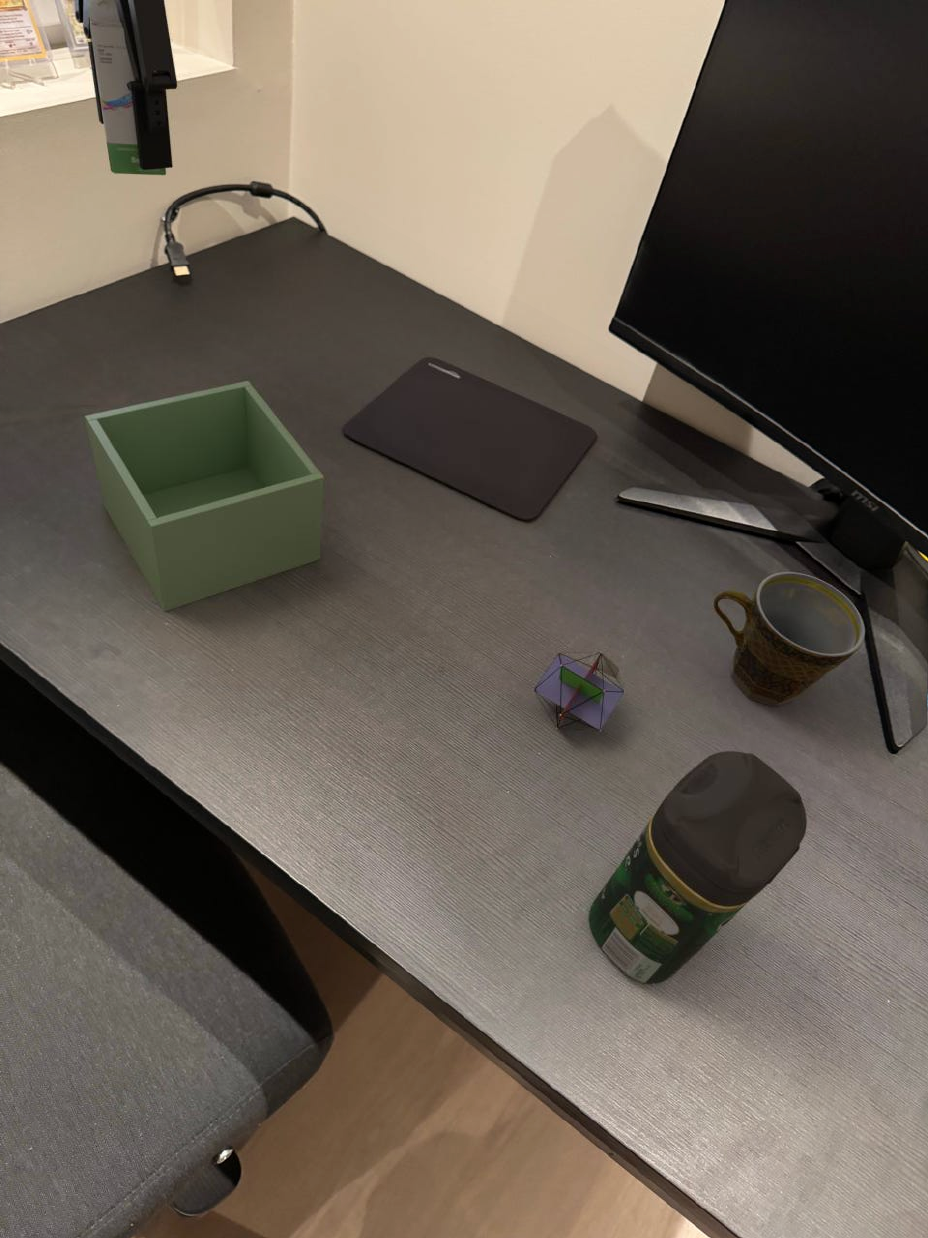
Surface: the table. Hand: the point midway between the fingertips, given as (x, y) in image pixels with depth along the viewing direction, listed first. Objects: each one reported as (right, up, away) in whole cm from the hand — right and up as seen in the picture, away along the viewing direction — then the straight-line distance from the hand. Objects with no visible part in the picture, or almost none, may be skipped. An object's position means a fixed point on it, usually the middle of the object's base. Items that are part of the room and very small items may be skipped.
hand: (135, 143), depth 78 cm
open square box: (+6, -36, +5) cm, 36 cm away
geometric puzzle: (+40, -53, -2) cm, 66 cm away
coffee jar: (+44, -67, -14) cm, 82 cm away
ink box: (0, -1, +1) cm, 1 cm away
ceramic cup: (+58, -50, +4) cm, 77 cm away
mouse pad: (+32, -22, +22) cm, 45 cm away
